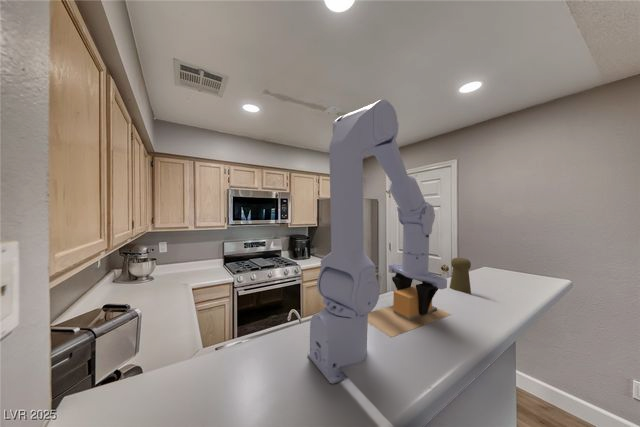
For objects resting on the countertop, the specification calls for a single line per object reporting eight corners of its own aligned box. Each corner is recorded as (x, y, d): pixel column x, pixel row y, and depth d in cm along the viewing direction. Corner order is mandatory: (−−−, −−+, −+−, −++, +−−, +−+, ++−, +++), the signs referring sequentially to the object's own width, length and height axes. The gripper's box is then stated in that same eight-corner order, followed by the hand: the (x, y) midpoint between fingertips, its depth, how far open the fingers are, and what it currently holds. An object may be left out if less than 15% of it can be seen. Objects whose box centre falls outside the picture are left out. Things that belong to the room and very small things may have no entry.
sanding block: (409, 320, 51) (409, 298, 51) (393, 312, 55) (393, 291, 54) (431, 312, 55) (432, 291, 55) (415, 305, 59) (415, 285, 58)
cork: (475, 298, 68) (476, 261, 68) (452, 296, 70) (453, 259, 69) (466, 290, 74) (467, 256, 74) (446, 289, 76) (447, 255, 75)
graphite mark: (434, 311, 56) (434, 308, 56) (419, 305, 59) (419, 302, 59) (437, 310, 56) (437, 307, 56) (422, 304, 60) (422, 301, 60)
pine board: (390, 345, 44) (391, 337, 44) (357, 321, 53) (357, 315, 53) (451, 320, 54) (451, 314, 54) (414, 304, 63) (415, 299, 63)
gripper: (456, 257, 50) (454, 318, 51) (402, 246, 63) (400, 296, 63) (436, 260, 47) (434, 326, 47) (383, 248, 59) (382, 300, 60)
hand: (413, 309), depth 55 cm, fingers closed on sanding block, 4 cm apart
